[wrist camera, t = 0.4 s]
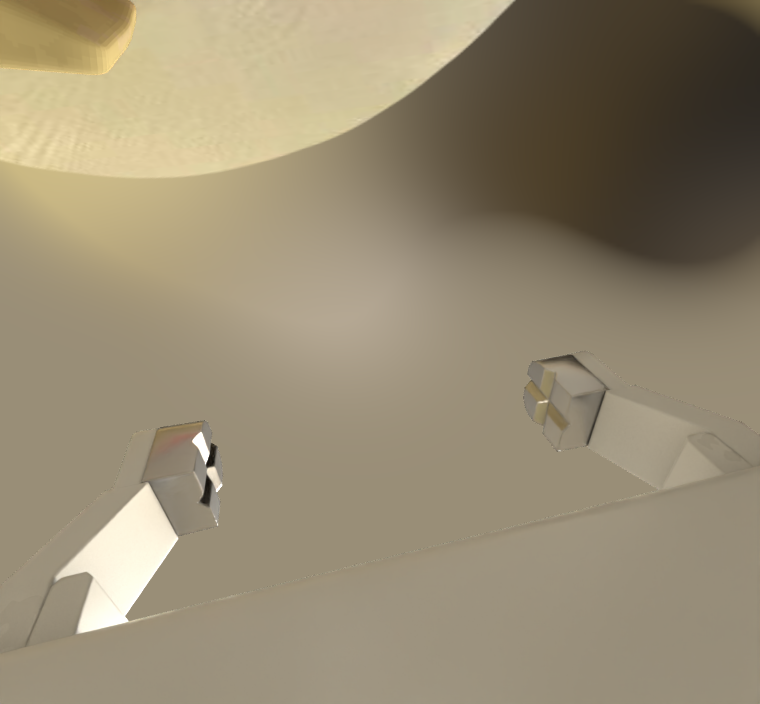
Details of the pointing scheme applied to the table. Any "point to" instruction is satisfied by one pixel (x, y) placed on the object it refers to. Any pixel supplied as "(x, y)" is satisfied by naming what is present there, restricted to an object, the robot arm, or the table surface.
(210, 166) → the table surface
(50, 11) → the cheese
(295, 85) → the table surface
